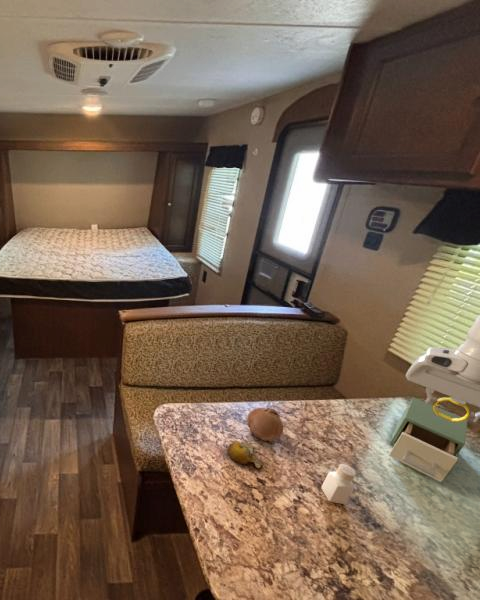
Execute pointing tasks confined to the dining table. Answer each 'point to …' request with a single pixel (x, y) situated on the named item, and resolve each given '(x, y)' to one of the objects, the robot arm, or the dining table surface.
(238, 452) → the fruit
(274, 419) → the onion
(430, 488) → the dining table surface
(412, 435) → the drawer
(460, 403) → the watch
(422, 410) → the cabinet
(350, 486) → the salt shaker
